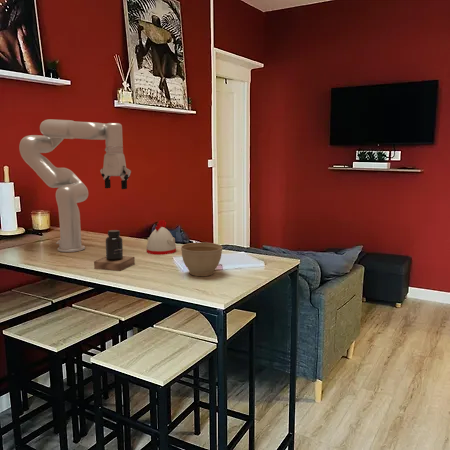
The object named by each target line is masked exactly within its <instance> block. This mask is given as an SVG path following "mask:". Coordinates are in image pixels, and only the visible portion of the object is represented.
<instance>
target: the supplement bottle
mask: <svg viewBox="0 0 450 450" xmlns="http://www.w3.org/2000/svg"><path fill="white" fill-rule="evenodd" d="M123 242H124V241H123V238H122V236H121V231H120V230H118V229H111V230H108V231H107V237H106V239H105V257H106V259H107V260H110V261H117V260H121V259H122V258H123V256H124V251H123V248H124V246H123Z"/></svg>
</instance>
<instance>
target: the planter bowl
mask: <svg viewBox="0 0 450 450" xmlns="http://www.w3.org/2000/svg"><path fill="white" fill-rule="evenodd" d="M180 249H181V257H182V261H183V263H184V265H185V267H186V268H187V270H188V272H189V274H190V275H191V276H194V277H209V276H212V275H214V273H215V270H216V269H217V267H218V266H219V264H220V262H221V258H222V253H223V246H222V245H220V244H218V243H213V242H191V243H185V244H182V245H181V246H180Z"/></svg>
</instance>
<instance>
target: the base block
mask: <svg viewBox="0 0 450 450" xmlns="http://www.w3.org/2000/svg"><path fill="white" fill-rule="evenodd" d="M135 260H136V258H135V256H130V255H129V256H127V255H123V258H122V259H121V260H117V261H110V260H107V259H106V256H104V257H102V258H99V259H97V260H94V261H93V265H94V266H93V267H94V269H96V270H105V271H106V270H107V271H117V272H118V271H119V272H120V271H124V270H125V269H127V268H130V267H131V266H133V265H135V263H136V261H135Z"/></svg>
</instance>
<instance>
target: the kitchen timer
mask: <svg viewBox="0 0 450 450" xmlns="http://www.w3.org/2000/svg"><path fill="white" fill-rule="evenodd" d="M167 223H168V222H166V220H165V219H160V220H158V223H156V226H155V228H154V230H153V231H152V232H151V234H150V235H149V237H147V244H146V253H147V254H148V255H158V256H161V255H162V256H163V255H171V254H174V253H176V252H177V245H176V238H175V237H173V235H172V233H171V231H170V230H168V229H167V228H166V227H167Z"/></svg>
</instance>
